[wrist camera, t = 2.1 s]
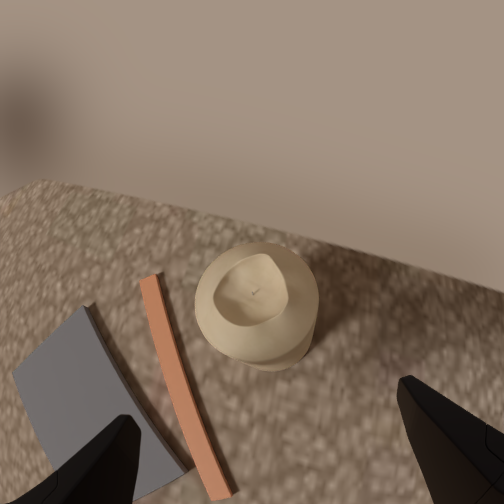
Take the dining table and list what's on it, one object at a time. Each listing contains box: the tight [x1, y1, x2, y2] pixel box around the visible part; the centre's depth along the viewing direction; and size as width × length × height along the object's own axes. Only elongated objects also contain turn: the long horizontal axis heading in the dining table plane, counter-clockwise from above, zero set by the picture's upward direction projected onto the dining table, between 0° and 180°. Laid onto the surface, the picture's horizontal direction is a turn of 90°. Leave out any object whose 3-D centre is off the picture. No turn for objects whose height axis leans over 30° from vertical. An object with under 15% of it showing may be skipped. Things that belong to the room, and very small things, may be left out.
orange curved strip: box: [139, 274, 233, 501], centre depth 20 cm, size 18×2×1 cm, turn 21°
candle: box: [195, 242, 319, 371], centre depth 16 cm, size 6×6×10 cm
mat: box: [12, 305, 188, 501], centre depth 19 cm, size 16×12×1 cm
